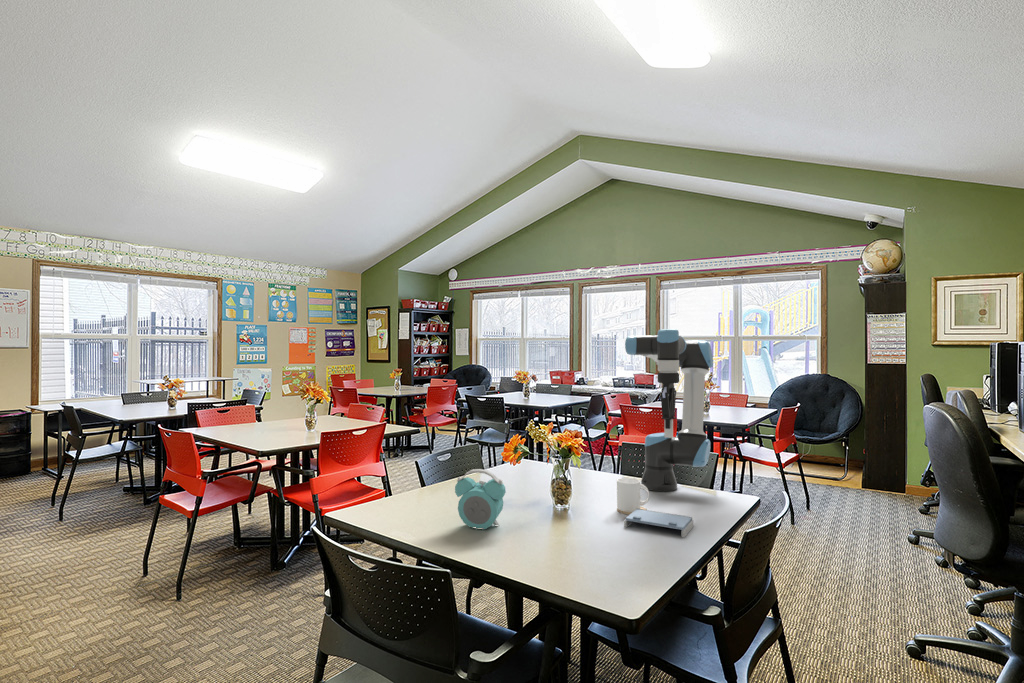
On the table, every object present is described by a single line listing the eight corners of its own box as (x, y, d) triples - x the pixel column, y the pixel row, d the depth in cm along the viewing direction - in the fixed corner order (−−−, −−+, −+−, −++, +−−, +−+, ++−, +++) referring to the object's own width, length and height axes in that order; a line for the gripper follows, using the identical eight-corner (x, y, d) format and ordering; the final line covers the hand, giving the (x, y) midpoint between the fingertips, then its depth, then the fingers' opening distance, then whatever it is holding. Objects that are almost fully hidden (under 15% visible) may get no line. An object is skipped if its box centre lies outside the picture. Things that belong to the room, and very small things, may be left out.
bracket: (636, 516, 196) (636, 510, 196) (693, 526, 186) (693, 519, 186) (624, 527, 186) (624, 520, 186) (684, 537, 175) (683, 530, 175)
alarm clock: (509, 524, 189) (508, 466, 189) (501, 533, 180) (500, 473, 180) (462, 520, 193) (461, 464, 194) (452, 529, 184) (451, 470, 184)
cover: (637, 510, 196) (637, 506, 196) (691, 519, 186) (691, 515, 186) (625, 520, 186) (625, 516, 186) (683, 530, 176) (683, 525, 176)
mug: (652, 512, 200) (652, 483, 200) (619, 513, 200) (619, 483, 200) (646, 505, 209) (646, 477, 209) (614, 506, 208) (614, 477, 208)
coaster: (622, 504, 212) (622, 503, 212) (650, 508, 206) (650, 507, 206) (612, 511, 202) (612, 510, 202) (641, 516, 197) (641, 515, 197)
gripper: (663, 371, 205) (663, 434, 205) (652, 372, 194) (653, 439, 193) (683, 371, 201) (684, 435, 201) (673, 373, 190) (674, 441, 190)
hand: (668, 437), depth 197 cm, fingers closed
